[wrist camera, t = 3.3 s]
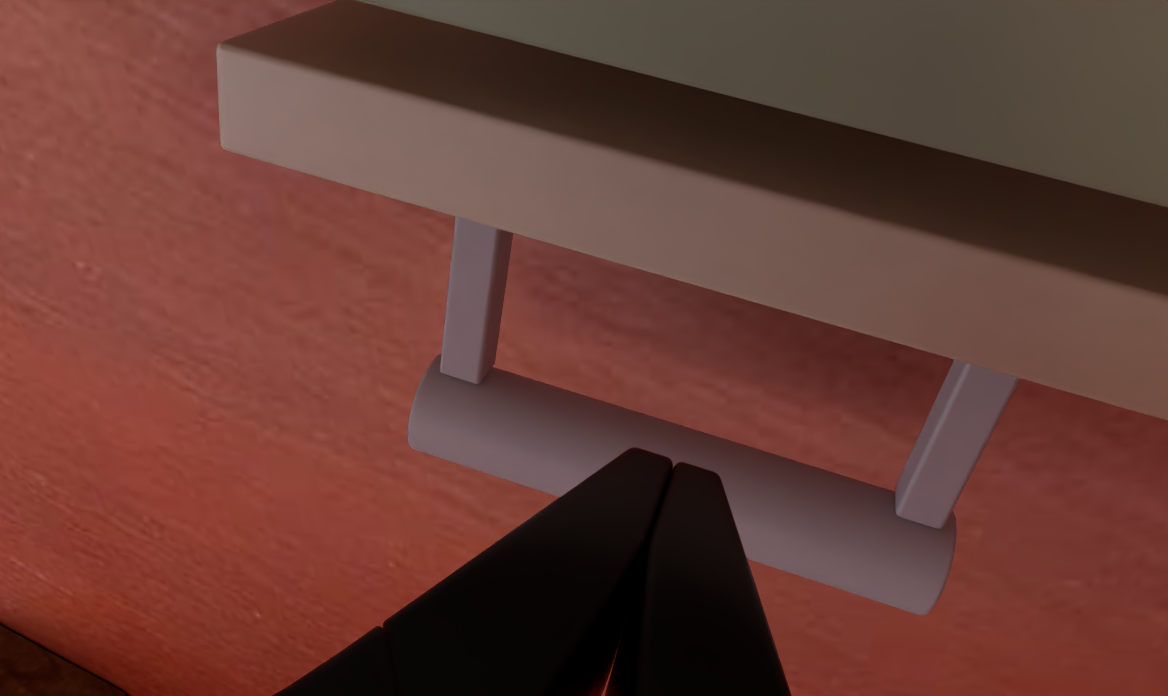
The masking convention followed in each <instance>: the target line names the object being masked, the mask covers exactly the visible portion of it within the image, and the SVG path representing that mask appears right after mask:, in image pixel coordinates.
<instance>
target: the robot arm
mask: <svg viewBox="0 0 1168 696" xmlns="http://www.w3.org/2000/svg"><path fill="white" fill-rule="evenodd" d="M672 469H673V470H672ZM617 649H618V650H617ZM615 656H616V657H615ZM614 659H615V661H614ZM613 662H614V664H613ZM612 665H613V668H612ZM611 668H612V671H611ZM610 671H611V675H610V678H609V682H608V685H607V689H606V694H605V696H791V693H790V690H789V687H788V684H787V681H786V678H785V674H784V671H783V668H782V665H781V662H780V659H779V656H778V653H777V650H776V647H775V644H774V641H773V637H772V634H771V631H770V628H769V625H768V622H767V619H766V616H765V613H764V610H763V607H762V604H761V601H760V597H759V594H758V591H757V588H756V585H755V582H754V579H753V576H752V573H751V570H750V567H749V564H748V560H747V557H746V554H745V551H744V548H743V545H742V542H741V539H740V536H739V533H738V530H737V527H736V523H735V520H734V517H733V514H732V511H731V508H730V505H729V502H728V499H727V496H726V493H725V490H724V486H723V483H722V481H721V478H720V476H719V475H718V474H717V473H715V472H713V471H710V470H707V469H704V468H701V467H698V466H695V465H691V464H688V463H685V462H678V463H677V464H675V466H674V467H673V462H672V460H671V459H670V458H668V457H666V456H663V455H660V454H657V453H653V452H650V451H647V450H644V449H641V448H636V447H633V448H629V449H628V450H626V451H625V452H623V453H622V454H620V455H619V456H618V457H616V458H615V459H613V460H612V461H611V462H609V463H608V464H606V465H605V466H603V467H602V468H601V469H599V470H598V471H596V472H595V473H594V474H592V475H591V476H589V477H588V478H586V479H585V480H584V481H582V482H581V483H579V484H578V485H577V486H575V487H574V488H572V489H571V490H570V491H568V492H567V493H565V494H564V495H562V496H561V497H560V498H558V499H557V500H555V501H554V502H553V503H551V504H550V505H548V506H547V507H545V508H544V509H543V510H541V511H540V512H538V513H537V514H536V515H534V516H533V517H531V518H530V519H528V520H527V521H526V522H524V523H523V524H521V525H520V526H519V527H517V528H516V529H514V530H513V531H511V532H510V533H509V534H507V535H506V536H504V537H503V538H502V539H500V540H499V541H497V542H496V543H494V544H493V545H492V546H490V547H489V548H487V549H486V550H485V551H483V552H482V553H480V554H479V555H477V556H476V557H475V558H473V559H472V560H470V561H469V562H468V563H466V564H465V565H463V566H462V567H460V568H459V569H458V570H456V571H455V572H453V573H452V574H451V575H449V576H448V577H446V578H445V579H443V580H442V581H441V582H439V583H438V584H436V585H435V586H434V587H432V588H431V589H429V590H428V591H426V592H425V593H424V594H422V595H421V596H419V597H418V598H417V599H415V600H414V601H412V602H411V603H409V604H408V605H407V606H405V607H404V608H402V609H401V610H400V611H398V612H397V613H395V614H394V615H392V616H391V617H390V618H388V619H387V620H385V621H384V623H383V628H382V627H380V626H377V627H375V628H373V629H372V630H370V631H369V632H368V633H366V634H365V635H363V636H362V637H361V638H359V639H358V640H356V641H355V642H354V643H352V644H351V645H349V646H348V647H347V648H345V649H344V650H342V651H341V652H339V653H338V654H336V655H335V656H333V657H332V658H330V659H329V660H327V661H326V662H324V663H323V664H321V665H320V666H318V667H317V668H315V669H314V670H312V671H311V672H309V673H308V674H306V675H305V676H303V677H302V678H300V679H299V680H297V681H296V682H294V683H293V684H291V685H290V686H288V687H286V688H285V689H283V690H281V691H279V692H278V693H276V694H274V695H272V696H601V695H602V693H603V690H604V688H605V685H606V682H607V679H608V677H609V674H610Z"/></svg>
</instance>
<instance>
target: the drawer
mask: <svg viewBox="0 0 1168 696" xmlns="http://www.w3.org/2000/svg"><path fill="white" fill-rule="evenodd" d="M216 57H217V80H218V103H219V126H220V144H221V147H222V148H223V149H224V150H226V151H229V152H233V153H236V154H240V155H243V156H247V157H250V158H253V159H257V160H260V161H264V162H267V163H271V164H274V165H278V166H281V167H285V168H288V169H292V170H295V171H299V172H302V173H306V174H309V175H313V176H316V177H320V178H323V179H327V180H330V181H334V182H337V183H341V184H344V185H348V186H351V187H355V188H358V189H362V190H365V191H369V192H372V193H376V194H379V195H382V196H386V197H389V198H393V199H396V200H400V201H403V202H407V203H410V204H414V205H417V206H421V207H424V208H428V209H431V210H435V211H438V212H442V213H445V214H449V215H452V216H456V217H455V227H454V236H453V246H452V256H451V265H450V275H449V284H448V294H447V304H446V313H445V323H444V333H443V342H442V352H441V354H439V355H438V356H437V357H436V358H435V359H434V360H433V361H432V362H431V364H430V365H429V367H428V368H427V370H426V372H425V374H424V376H423V378H422V380H421V382H420V384H419V387H418V389H417V392H416V395H415V397H414V401H413V404H412V408H411V412H410V417H409V424H408V442H409V445H410V446H411V447H412V448H413V449H414V450H417V451H420V452H423V453H426V454H429V455H432V456H435V457H438V458H441V459H444V460H447V461H450V462H453V463H456V464H459V465H462V466H465V467H468V468H471V469H475V470H478V471H481V472H484V473H487V474H490V475H493V476H496V477H499V478H502V479H505V480H508V481H511V482H514V483H517V484H520V485H523V486H526V487H529V488H532V489H535V490H539V491H542V492H545V493H548V494H551V495H554V496H557V497H561V496H562V495H564V494H565V493H567V492H568V491H570V490H571V489H572V488H574V487H575V486H577V485H578V484H579V483H581V482H582V481H584V480H585V479H586V478H588V477H589V476H591V475H592V474H594V473H595V472H596V471H598V470H599V469H601V468H602V467H603V466H605V465H606V464H608V463H609V462H611V461H612V460H613V459H615V458H616V457H618V456H619V455H620V454H622V453H623V452H625V451H626V450H628V449H629V448H633V447H636V448H641V449H644V450H647V451H650V452H653V453H657V454H660V455H663V456H666V457H668V458H670V459H671V460H672V462H673V467H674V466H675V464H677V463H678V462H685V463H688V464H691V465H695V466H698V467H701V468H704V469H707V470H710V471H713V472H715V473H717V474H718V475H719V476H720V478H721V481H722V483H723V486H724V490H725V493H726V496H727V499H728V502H729V505H730V508H731V511H732V514H733V517H734V520H735V523H736V527H737V530H738V533H739V536H740V539H741V542H742V545H743V548H744V551H745V554H746V557H747V559H749V560H752V561H755V562H758V563H761V564H764V565H767V566H770V567H773V568H776V569H779V570H782V571H786V572H789V573H792V574H795V575H798V576H801V577H804V578H807V579H810V580H813V581H816V582H819V583H822V584H825V585H828V586H831V587H834V588H837V589H840V590H843V591H846V592H850V593H853V594H856V595H859V596H862V597H865V598H868V599H871V600H874V601H877V602H880V603H883V604H886V605H889V606H892V607H895V608H898V609H901V610H904V611H907V612H911V613H914V614H917V615H926V614H928V613H929V612H930V611H931V610H932V609H933V607H934V606H935V604H936V603H937V601H938V599H939V598H940V596H941V594H942V591H943V589H944V587H945V584H946V581H947V579H948V576H949V572H950V569H951V565H952V561H953V557H954V551H955V545H956V533H957V529H956V518H955V515H954V513H953V512H952V510H953V508H954V506H955V504H956V502H957V500H958V498H959V496H960V494H961V492H962V490H963V488H964V487H965V485H966V483H967V481H968V479H969V477H970V475H971V473H972V471H973V469H974V467H975V465H976V463H977V461H978V459H979V457H980V455H981V454H982V452H983V450H984V448H985V446H986V444H987V442H988V440H989V438H990V436H991V434H992V432H993V430H994V428H995V426H996V424H997V423H998V421H999V419H1000V417H1001V415H1002V413H1003V411H1004V409H1005V407H1006V405H1007V403H1008V401H1009V399H1010V397H1011V395H1012V393H1013V391H1014V390H1015V388H1016V386H1017V384H1018V382H1019V380H1020V378H1021V379H1024V380H1027V381H1031V382H1034V383H1038V384H1041V385H1045V386H1048V387H1052V388H1055V389H1059V390H1062V391H1066V392H1069V393H1073V394H1076V395H1080V396H1083V397H1087V398H1090V399H1094V400H1097V401H1101V402H1104V403H1108V404H1111V405H1115V406H1118V407H1122V408H1125V409H1129V410H1132V411H1136V412H1139V413H1143V414H1146V415H1150V416H1153V417H1156V418H1160V419H1163V420H1167V421H1168V208H1167V207H1163V206H1159V205H1155V204H1151V203H1147V202H1144V201H1140V200H1136V199H1132V198H1128V197H1124V196H1120V195H1116V194H1112V193H1108V192H1104V191H1100V190H1097V189H1093V188H1089V187H1085V186H1081V185H1077V184H1073V183H1069V182H1065V181H1061V180H1057V179H1053V178H1049V177H1046V176H1042V175H1038V174H1034V173H1030V172H1026V171H1022V170H1018V169H1014V168H1010V167H1006V166H1002V165H999V164H995V163H991V162H987V161H983V160H979V159H975V158H971V157H967V156H963V155H959V154H955V153H951V152H948V151H944V150H940V149H936V148H932V147H928V146H924V145H920V144H916V143H912V142H908V141H904V140H900V139H897V138H893V137H889V136H885V135H881V134H877V133H873V132H869V131H865V130H861V129H857V128H853V127H850V126H846V125H842V124H838V123H834V122H830V121H826V120H822V119H818V118H814V117H810V116H806V115H802V114H799V113H795V112H791V111H787V110H783V109H779V108H775V107H771V106H767V105H763V104H759V103H755V102H752V101H748V100H744V99H740V98H736V97H732V96H728V95H724V94H720V93H716V92H712V91H708V90H704V89H701V88H697V87H693V86H689V85H685V84H681V83H677V82H673V81H669V80H665V79H661V78H657V77H653V76H650V75H646V74H642V73H638V72H634V71H630V70H626V69H622V68H618V67H614V66H610V65H606V64H603V63H599V62H595V61H591V60H587V59H583V58H579V57H575V56H571V55H567V54H563V53H559V52H555V51H552V50H548V49H544V48H540V47H536V46H532V45H528V44H524V43H520V42H516V41H512V40H508V39H505V38H501V37H497V36H493V35H489V34H485V33H481V32H477V31H473V30H469V29H465V28H461V27H457V26H454V25H450V24H446V23H442V22H438V21H434V20H430V19H426V18H422V17H418V16H414V15H410V14H406V13H403V12H399V11H395V10H391V9H387V8H383V7H379V6H375V5H371V4H367V3H363V2H359V1H356V0H336V1H333V2H330V3H328V4H325V5H322V6H319V7H317V8H314V9H311V10H308V11H305V12H303V13H300V14H297V15H294V16H292V17H289V18H286V19H283V20H281V21H278V22H275V23H272V24H269V25H267V26H264V27H261V28H258V29H256V30H253V31H250V32H247V33H245V34H242V35H239V36H236V37H233V38H231V39H228V40H225V41H222V42H220V43H219V44H218V45H217V49H216ZM513 233H515V234H518V235H522V236H525V237H529V238H532V239H536V240H539V241H543V242H546V243H550V244H553V245H557V246H560V247H564V248H567V249H571V250H574V251H578V252H581V253H585V254H588V255H592V256H595V257H599V258H602V259H606V260H609V261H613V262H616V263H620V264H623V265H627V266H630V267H634V268H637V269H640V270H644V271H647V272H651V273H654V274H658V275H661V276H665V277H668V278H672V279H675V280H679V281H682V282H686V283H689V284H693V285H696V286H700V287H703V288H707V289H710V290H714V291H717V292H721V293H724V294H728V295H731V296H735V297H738V298H742V299H745V300H749V301H752V302H756V303H759V304H763V305H766V306H769V307H773V308H776V309H780V310H783V311H787V312H790V313H794V314H797V315H801V316H804V317H808V318H811V319H815V320H818V321H822V322H825V323H829V324H832V325H836V326H839V327H843V328H846V329H850V330H853V331H857V332H860V333H864V334H867V335H871V336H874V337H878V338H881V339H885V340H888V341H892V342H895V343H898V344H902V345H905V346H909V347H912V348H916V349H919V350H923V351H926V352H930V353H933V354H937V355H940V356H944V357H947V358H951V359H954V361H953V363H952V366H951V368H950V370H949V372H948V374H947V376H946V378H945V381H944V383H943V385H942V387H941V389H940V391H939V394H938V396H937V398H936V400H935V402H934V404H933V407H932V409H931V411H930V413H929V415H928V417H927V420H926V422H925V424H924V426H923V428H922V430H921V433H920V435H919V437H918V439H917V441H916V443H915V446H914V448H913V450H912V452H911V454H910V456H909V459H908V461H907V463H906V465H905V467H904V469H903V471H902V474H901V476H900V478H899V480H898V482H897V484H896V487H895V492H894V491H891V490H888V489H884V488H881V487H878V486H875V485H872V484H868V483H865V482H862V481H859V480H855V479H852V478H849V477H846V476H843V475H839V474H836V473H833V472H830V471H826V470H823V469H820V468H817V467H814V466H810V465H807V464H804V463H801V462H797V461H794V460H791V459H788V458H784V457H781V456H778V455H775V454H772V453H768V452H765V451H762V450H759V449H755V448H752V447H749V446H746V445H743V444H739V443H736V442H733V441H730V440H726V439H723V438H720V437H717V436H714V435H710V434H707V433H704V432H701V431H697V430H694V429H691V428H688V427H684V426H681V425H678V424H675V423H672V422H668V421H665V420H662V419H659V418H655V417H652V416H649V415H646V414H643V413H639V412H636V411H633V410H630V409H626V408H623V407H620V406H617V405H614V404H610V403H607V402H604V401H601V400H597V399H594V398H591V397H588V396H584V395H581V394H578V393H575V392H572V391H568V390H565V389H562V388H559V387H555V386H552V385H549V384H546V383H543V382H539V381H536V380H533V379H530V378H526V377H523V376H520V375H517V374H514V373H510V372H507V371H504V370H501V369H497V368H494V367H492V366H493V365H494V363H495V358H496V351H497V344H498V337H499V330H500V323H501V316H502V308H503V301H504V294H505V287H506V280H507V273H508V266H509V259H510V252H511V245H512V238H513ZM672 470H673V469H672Z"/></svg>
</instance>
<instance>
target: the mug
mask: <svg viewBox="0 0 1168 696" xmlns="http://www.w3.org/2000/svg"><path fill="white" fill-rule="evenodd" d="M0 696H127V695H126V694H125V693H124V692H122V691H120V690H118V689H117V688H115V687H113V686H111V685H109V684H107V683H105V682H104V681H102V680H100V679H98V678H96V677H94V676H93V675H91V674H89V673H87V672H85V671H83V670H81V669H80V668H78V667H76V666H74V665H72V664H70V663H69V662H67V661H65V660H63V659H61V658H59V657H57V656H56V655H54V654H52V653H50V652H48V651H46V650H45V649H43V648H41V647H39V646H37V645H35V644H33V643H32V642H30V641H28V640H26V639H24V638H22V637H21V636H19V635H17V634H15V633H13V632H11V631H10V630H8V629H6V628H4V627H2V626H0Z"/></svg>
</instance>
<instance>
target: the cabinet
mask: <svg viewBox="0 0 1168 696" xmlns="http://www.w3.org/2000/svg"><path fill="white" fill-rule="evenodd" d="M356 1H359V2H363V3H367V4H371V5H375V6H379V7H383V8H387V9H391V10H395V11H399V12H403V13H406V14H410V15H414V16H418V17H422V18H426V19H430V20H434V21H438V22H442V23H446V24H450V25H454V26H457V27H461V28H465V29H469V30H473V31H477V32H481V33H485V34H489V35H493V36H497V37H501V38H505V39H508V40H512V41H516V42H520V43H524V44H528V45H532V46H536V47H540V48H544V49H548V50H552V51H555V52H559V53H563V54H567V55H571V56H575V57H579V58H583V59H587V60H591V61H595V62H599V63H603V64H606V65H610V66H614V67H618V68H622V69H626V70H630V71H634V72H638V73H642V74H646V75H650V76H653V77H657V78H661V79H665V80H669V81H673V82H677V83H681V84H685V85H689V86H693V87H697V88H701V89H704V90H708V91H712V92H716V93H720V94H724V95H728V96H732V97H736V98H740V99H744V100H748V101H752V102H755V103H759V104H763V105H767V106H771V107H775V108H779V109H783V110H787V111H791V112H795V113H799V114H802V115H806V116H810V117H814V118H818V119H822V120H826V121H830V122H834V123H838V124H842V125H846V126H850V127H853V128H857V129H861V130H865V131H869V132H873V133H877V134H881V135H885V136H889V137H893V138H897V139H900V140H904V141H908V142H912V143H916V144H920V145H924V146H928V147H932V148H936V149H940V150H944V151H948V152H951V153H955V154H959V155H963V156H967V157H971V158H975V159H979V160H983V161H987V162H991V163H995V164H999V165H1002V166H1006V167H1010V168H1014V169H1018V170H1022V171H1026V172H1030V173H1034V174H1038V175H1042V176H1046V177H1049V178H1053V179H1057V180H1061V181H1065V182H1069V183H1073V184H1077V185H1081V186H1085V187H1089V188H1093V189H1097V190H1100V191H1104V192H1108V193H1112V194H1116V195H1120V196H1124V197H1128V198H1132V199H1136V200H1140V201H1144V202H1147V203H1151V204H1155V205H1159V206H1163V207H1167V208H1168V0H356Z"/></svg>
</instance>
